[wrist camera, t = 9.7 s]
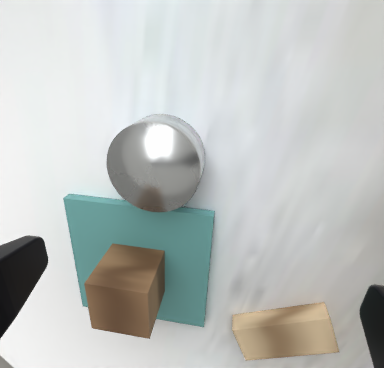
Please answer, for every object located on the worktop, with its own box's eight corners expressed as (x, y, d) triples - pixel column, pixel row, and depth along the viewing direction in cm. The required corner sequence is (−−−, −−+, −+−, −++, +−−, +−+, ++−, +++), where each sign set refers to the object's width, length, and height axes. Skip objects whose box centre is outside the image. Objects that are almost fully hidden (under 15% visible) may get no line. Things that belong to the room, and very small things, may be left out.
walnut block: (164, 250, 21) (147, 293, 17) (164, 291, 23) (149, 338, 19) (112, 243, 22) (84, 283, 18) (116, 283, 24) (91, 328, 20)
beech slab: (322, 298, 22) (330, 318, 21) (331, 330, 24) (339, 352, 22) (232, 311, 25) (232, 330, 23) (245, 340, 26) (245, 360, 24)
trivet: (214, 211, 20) (213, 216, 19) (204, 319, 25) (203, 327, 24) (69, 193, 22) (63, 198, 21) (87, 299, 27) (82, 305, 26)
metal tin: (207, 116, 17) (201, 125, 15) (203, 196, 20) (198, 216, 17) (121, 111, 18) (101, 119, 16) (128, 189, 21) (111, 207, 18)
